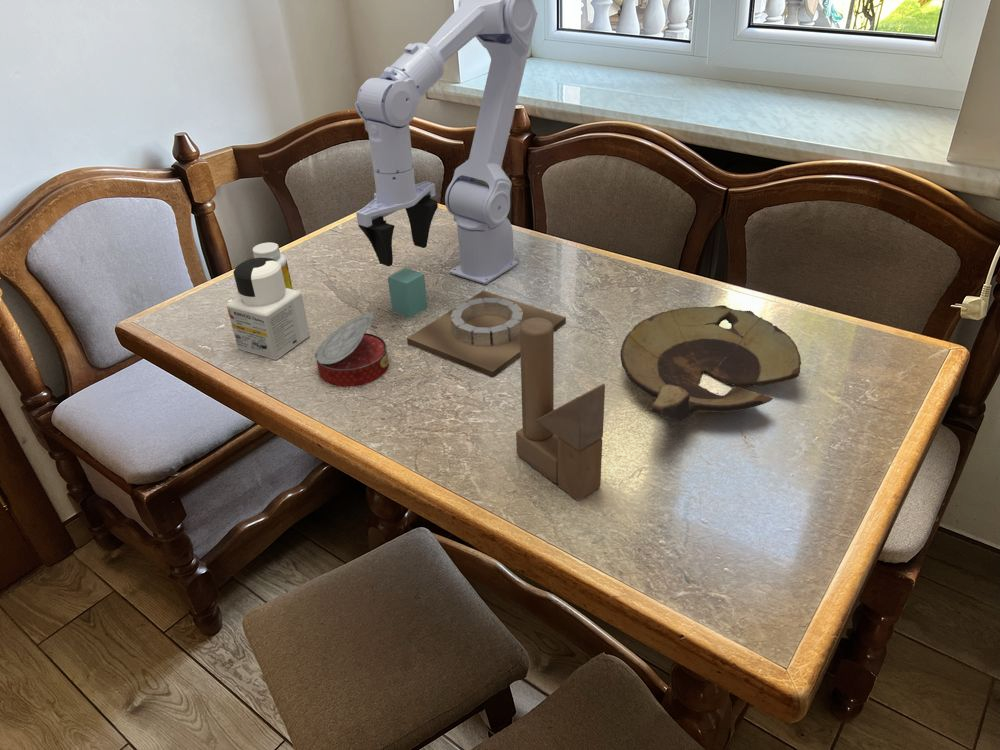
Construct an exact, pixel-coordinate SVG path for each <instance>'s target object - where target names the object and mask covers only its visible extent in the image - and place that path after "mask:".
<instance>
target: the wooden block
mask: <svg viewBox="0 0 1000 750" xmlns="http://www.w3.org/2000/svg"><path fill="white" fill-rule="evenodd" d="M554 333H555V332H554V327H553V325H552V323H551V322H550V321H549V320H547V319H543V318H530V319H527V320H525V321H523V322H522V324H521V325H520V356H521V357H520V380H521V381H520V383H521V387H520V388H521V415H522V417H521V418H522V419H521V420H522V427H521V428H520V429H518V430H516V432H515V437H516V438H515V440H516V454H517V456H518V457H520V458H521V459H522V460H523V461H525V462H526V463H528V465H530V466H532V467H533V468H534V469H535V470H537V471H538V472H540V473H541V474H542V475H544V476H545V477H546V478H548V479H549V480H551V482H553V483H554V484H557V486H558V487H559V488H560V489H562V490H563V491H564V492H566V493H567V494H568V495H570V496H571V497H572V498H574V499H575V500H576V501H581V500H583V499H585V497H587V496H590V494H592V493H594V492H595V491H597V490H598V489H600V488H601V484H602V482H601V480H602V478H601V477H602V459H603V439H602V438H603V437H604V422H605V420H604V419H605V415H604V414H605V397H606V383H601V384H600V385H598V386H596V387H595V388H592V389H590V390H589V391H587V392H585V393H582V394H581V395H579V396H577V397H576V398H574V399H571V400H570V401H568V402H566V403H563V404H562V405H561V406H559V407H557V408H555V409H554V401H555V400H554V398H555V397H554V396H555V394H554V389H555V387H554V383H555V382H554V380H555V379H554V378H555V377H554V374H555V373H554V372H555V369H554V368H555V367H554V366H555V363H554V362H555V361H554V358H555V357H554V355H555V354H554V352H555V350H554Z"/></svg>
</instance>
